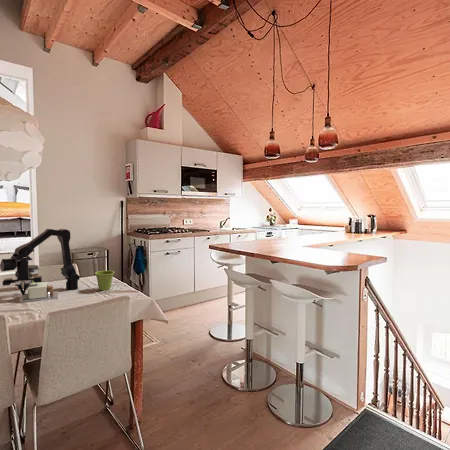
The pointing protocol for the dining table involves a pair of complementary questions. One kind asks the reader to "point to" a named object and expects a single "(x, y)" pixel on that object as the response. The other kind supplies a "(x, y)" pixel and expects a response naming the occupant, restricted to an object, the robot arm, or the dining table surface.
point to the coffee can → (32, 273)
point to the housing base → (25, 298)
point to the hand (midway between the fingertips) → (23, 295)
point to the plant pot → (104, 279)
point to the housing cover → (37, 290)
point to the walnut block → (50, 290)
